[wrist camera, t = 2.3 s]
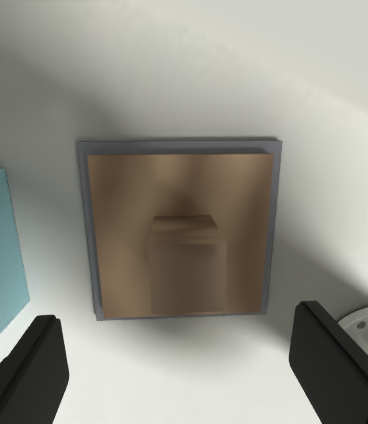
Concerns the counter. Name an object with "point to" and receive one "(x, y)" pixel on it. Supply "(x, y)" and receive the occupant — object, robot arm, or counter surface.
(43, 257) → the counter surface
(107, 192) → the lid
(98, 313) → the mat
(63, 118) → the counter surface
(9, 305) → the open box
